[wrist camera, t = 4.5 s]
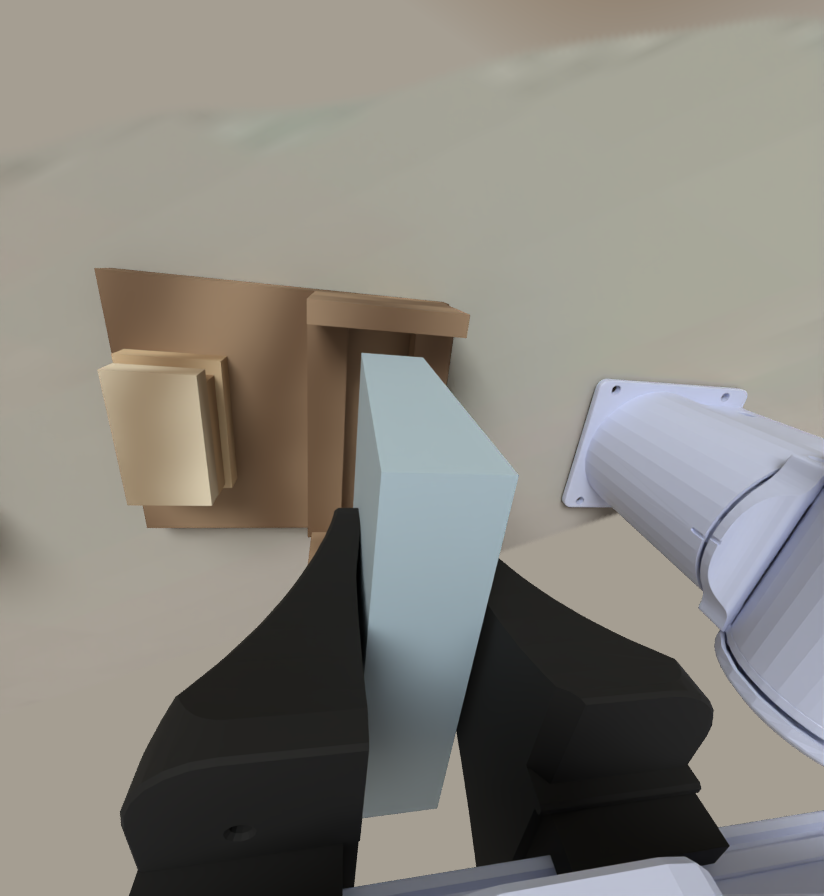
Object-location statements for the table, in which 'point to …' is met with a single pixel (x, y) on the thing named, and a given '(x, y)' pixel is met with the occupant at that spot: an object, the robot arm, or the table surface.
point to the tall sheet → (420, 570)
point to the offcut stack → (170, 426)
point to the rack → (277, 381)
